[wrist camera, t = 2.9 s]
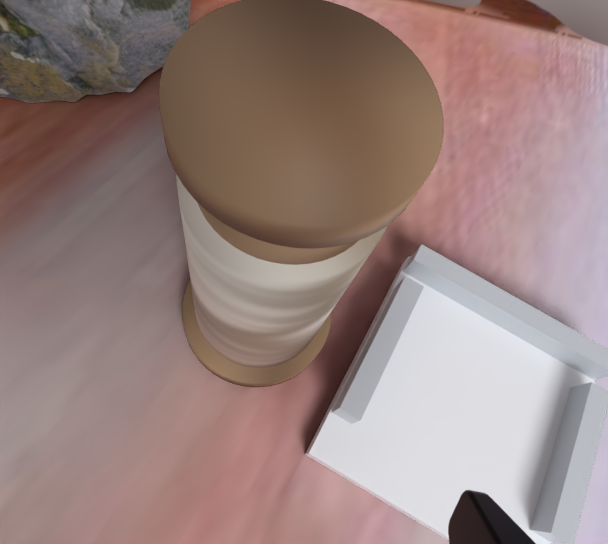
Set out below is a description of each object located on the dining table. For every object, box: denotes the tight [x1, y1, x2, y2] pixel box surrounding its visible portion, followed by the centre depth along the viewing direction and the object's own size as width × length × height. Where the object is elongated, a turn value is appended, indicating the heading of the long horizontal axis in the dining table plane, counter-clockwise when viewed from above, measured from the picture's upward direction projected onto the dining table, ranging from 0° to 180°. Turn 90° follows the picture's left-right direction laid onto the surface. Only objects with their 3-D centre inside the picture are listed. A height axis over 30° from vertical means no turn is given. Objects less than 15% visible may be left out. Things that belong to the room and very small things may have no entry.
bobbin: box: [159, 0, 444, 387], centre depth 17 cm, size 7×7×15 cm
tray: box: [305, 244, 608, 544], centre depth 23 cm, size 11×11×2 cm
